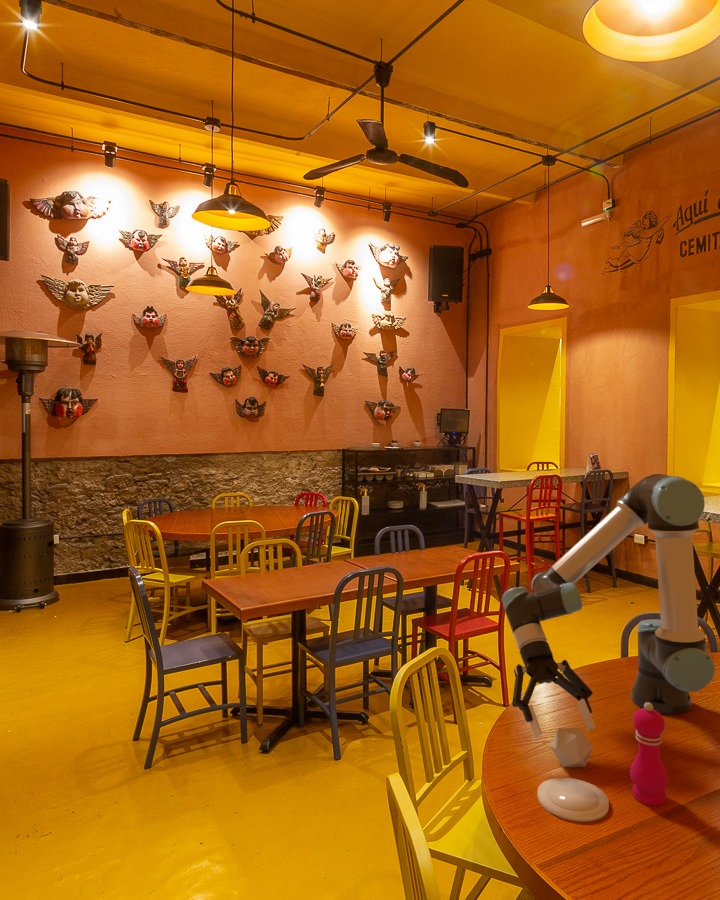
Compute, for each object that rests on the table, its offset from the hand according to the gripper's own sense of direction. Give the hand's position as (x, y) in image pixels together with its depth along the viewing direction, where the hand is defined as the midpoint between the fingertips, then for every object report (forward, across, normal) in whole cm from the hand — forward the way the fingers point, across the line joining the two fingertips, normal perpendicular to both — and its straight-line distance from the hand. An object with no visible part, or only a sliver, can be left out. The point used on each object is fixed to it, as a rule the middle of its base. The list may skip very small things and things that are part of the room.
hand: (565, 732), depth 144 cm
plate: (+15, +7, +5) cm, 17 cm away
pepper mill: (+17, -9, +7) cm, 20 cm away
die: (+6, -1, -5) cm, 8 cm away
